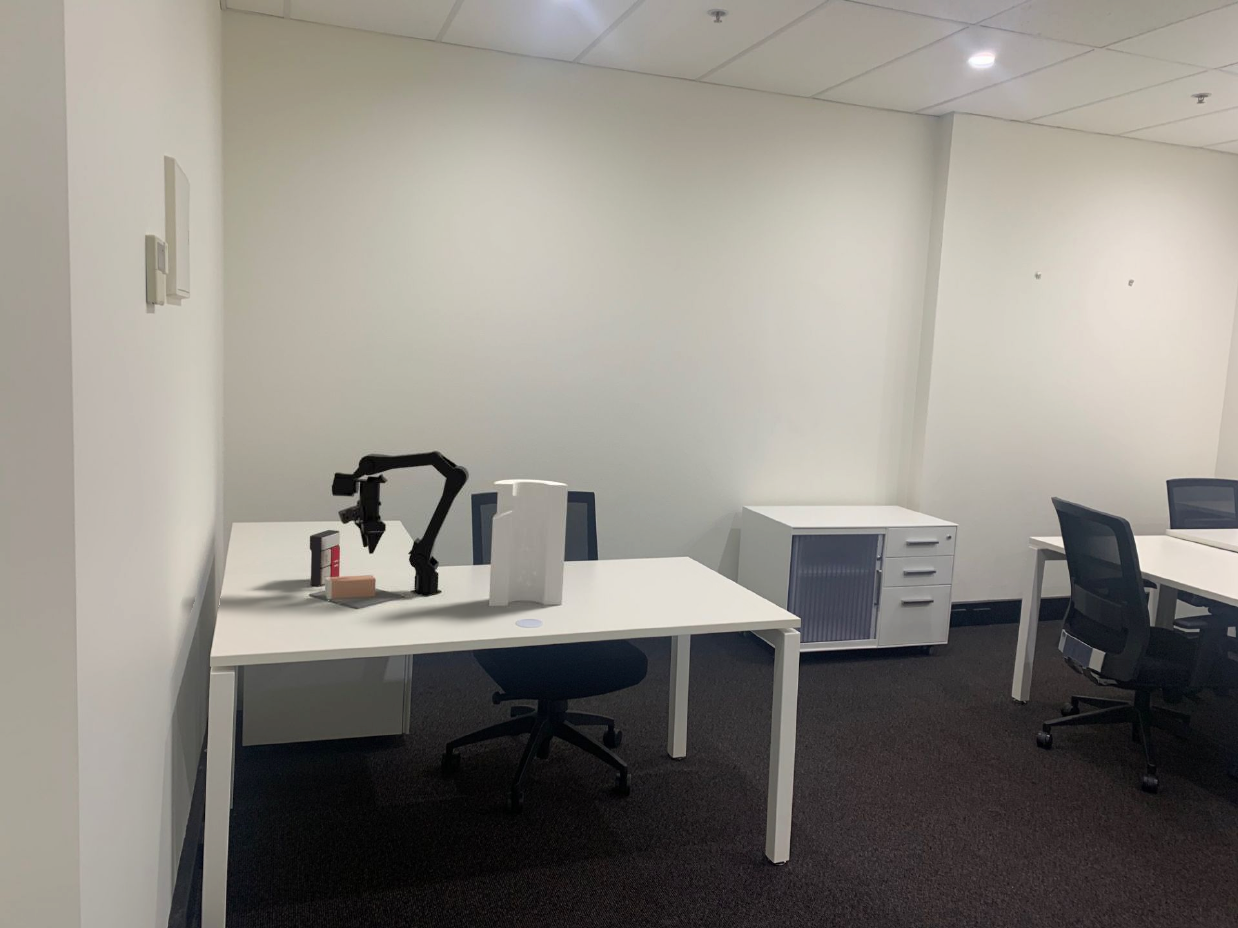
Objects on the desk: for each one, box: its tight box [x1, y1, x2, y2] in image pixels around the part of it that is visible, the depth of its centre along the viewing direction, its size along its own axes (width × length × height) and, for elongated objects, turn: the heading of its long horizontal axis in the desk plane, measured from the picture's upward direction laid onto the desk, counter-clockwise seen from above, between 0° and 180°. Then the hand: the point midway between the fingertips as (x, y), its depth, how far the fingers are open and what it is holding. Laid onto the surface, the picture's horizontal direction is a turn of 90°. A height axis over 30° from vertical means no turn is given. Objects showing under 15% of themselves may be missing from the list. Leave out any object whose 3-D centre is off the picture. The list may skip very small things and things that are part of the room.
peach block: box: [324, 574, 377, 599], centre depth 250 cm, size 5×5×13 cm
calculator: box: [309, 529, 341, 587], centre depth 265 cm, size 11×4×15 cm, turn 168°
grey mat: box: [308, 587, 405, 610], centre depth 252 cm, size 20×17×1 cm
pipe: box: [488, 478, 569, 607], centre depth 256 cm, size 35×11×21 cm
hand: (368, 550), depth 258 cm, fingers open, 9 cm apart
